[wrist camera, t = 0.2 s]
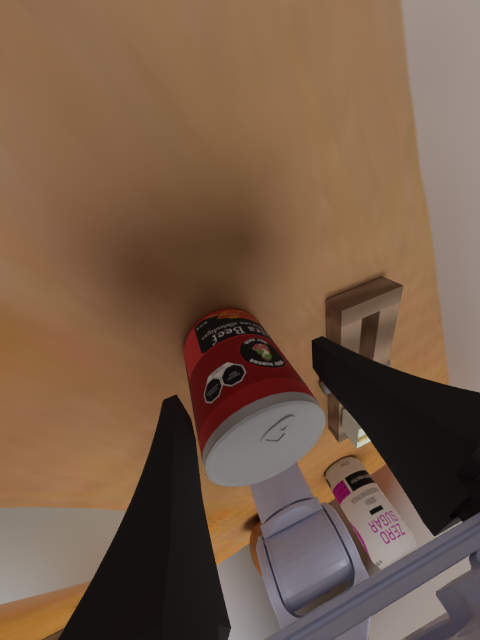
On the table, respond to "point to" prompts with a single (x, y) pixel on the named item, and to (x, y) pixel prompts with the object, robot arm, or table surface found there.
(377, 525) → the supplement can
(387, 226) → the table surface
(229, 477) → the canned food
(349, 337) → the wooden slotted frame
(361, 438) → the rider
